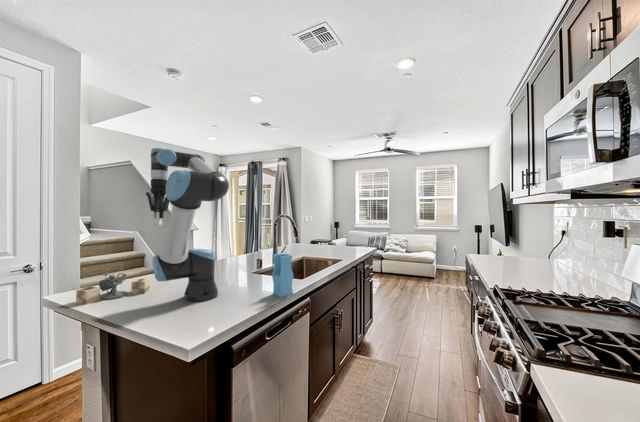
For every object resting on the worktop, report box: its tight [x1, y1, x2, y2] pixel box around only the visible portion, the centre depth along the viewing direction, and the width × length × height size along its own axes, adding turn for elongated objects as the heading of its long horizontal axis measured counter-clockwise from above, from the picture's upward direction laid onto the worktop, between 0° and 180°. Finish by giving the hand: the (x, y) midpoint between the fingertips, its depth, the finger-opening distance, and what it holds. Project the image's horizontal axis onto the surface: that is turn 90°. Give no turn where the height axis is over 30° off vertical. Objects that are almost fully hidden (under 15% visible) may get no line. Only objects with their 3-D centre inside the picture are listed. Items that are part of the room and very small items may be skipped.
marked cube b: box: [75, 285, 101, 305], centre depth 125 cm, size 6×6×6 cm
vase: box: [271, 252, 295, 298], centre depth 140 cm, size 8×8×20 cm
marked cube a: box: [130, 278, 151, 295], centre depth 140 cm, size 6×6×6 cm
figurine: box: [98, 272, 128, 301], centre depth 132 cm, size 11×11×12 cm
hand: (158, 224), depth 141 cm, fingers closed
